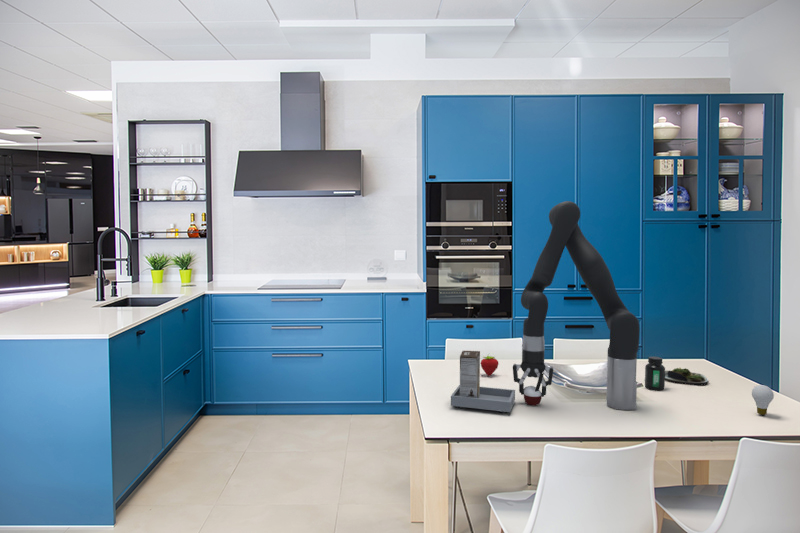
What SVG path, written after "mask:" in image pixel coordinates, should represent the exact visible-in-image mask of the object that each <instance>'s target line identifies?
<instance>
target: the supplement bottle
mask: <svg viewBox="0 0 800 533" xmlns="http://www.w3.org/2000/svg"><path fill="white" fill-rule="evenodd" d="M647 358H648V360H647V362H648V363H646V364H645V366H644V388H645V389H646V390H649V391H653V392H654V391H655V392H662V391H664V390H665V388H666V387H665V383H666V381H665V371H666V367H665V365H663V357H658V356H649V357H647Z"/></svg>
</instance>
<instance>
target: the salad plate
mask: <svg viewBox="0 0 800 533" xmlns="http://www.w3.org/2000/svg"><path fill="white" fill-rule="evenodd" d="M665 382H669V383H673V384H677V385H678V384H679V385H685V386H686V385H687V386H699V387H700V386H705V385H707V384H708V383H709V379H708V378H707V377H706V376H705V375H704V374H701V373H698V372H691V371H690V369H689V368H686V367H685V368H681V367H677V368H674V369H672V370H665Z"/></svg>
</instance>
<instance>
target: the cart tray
mask: <svg viewBox="0 0 800 533" xmlns="http://www.w3.org/2000/svg"><path fill="white" fill-rule="evenodd" d="M515 400H516V389H509V388H508V389H507V388H497V387H488V386H480V395H479V398H472V397H462V396H460V384H459V385H458V386H456V388H455V390H453V392H452V394H451V395H450V406H452V407H456V408H457V409H461V408H470V409H477V410H487V411H497V412H501V414H505V413H506V412H507V413H511V411H512V409H513V406H514V404H515Z"/></svg>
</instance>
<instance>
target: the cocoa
mask: <svg viewBox="0 0 800 533" xmlns="http://www.w3.org/2000/svg"><path fill="white" fill-rule="evenodd" d="M544 375H545V373H544V372H543V373H541V374H540V376H539V378H538V380H537V383H536V386H534V385H528V386H524V389H523V393H524V394H523V400H524V402H525V404H527V405H528V406H533V407H535V406H538V405H539V404H540V403H541V402H542V398H543V397H542V390H540V389H541V386H542V383H541V382H542V379H543V377H544Z"/></svg>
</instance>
